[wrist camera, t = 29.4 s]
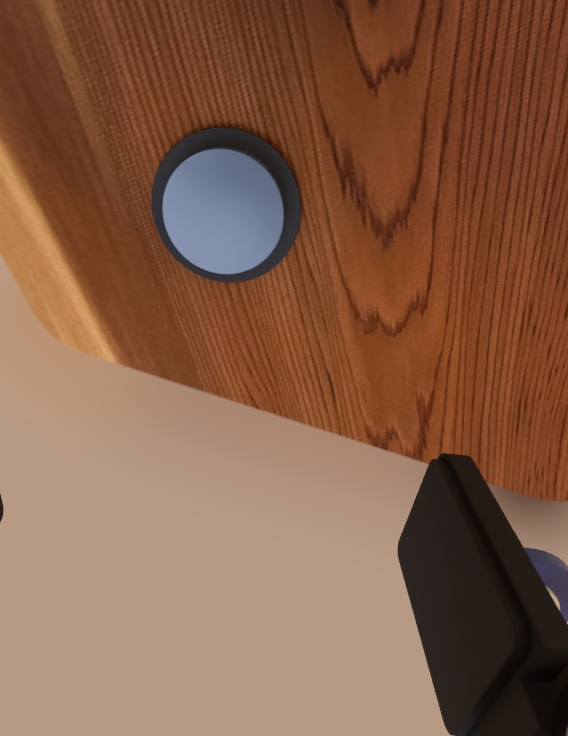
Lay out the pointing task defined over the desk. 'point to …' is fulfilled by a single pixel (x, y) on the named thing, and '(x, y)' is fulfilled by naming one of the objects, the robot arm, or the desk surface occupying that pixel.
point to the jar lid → (223, 210)
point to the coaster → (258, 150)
